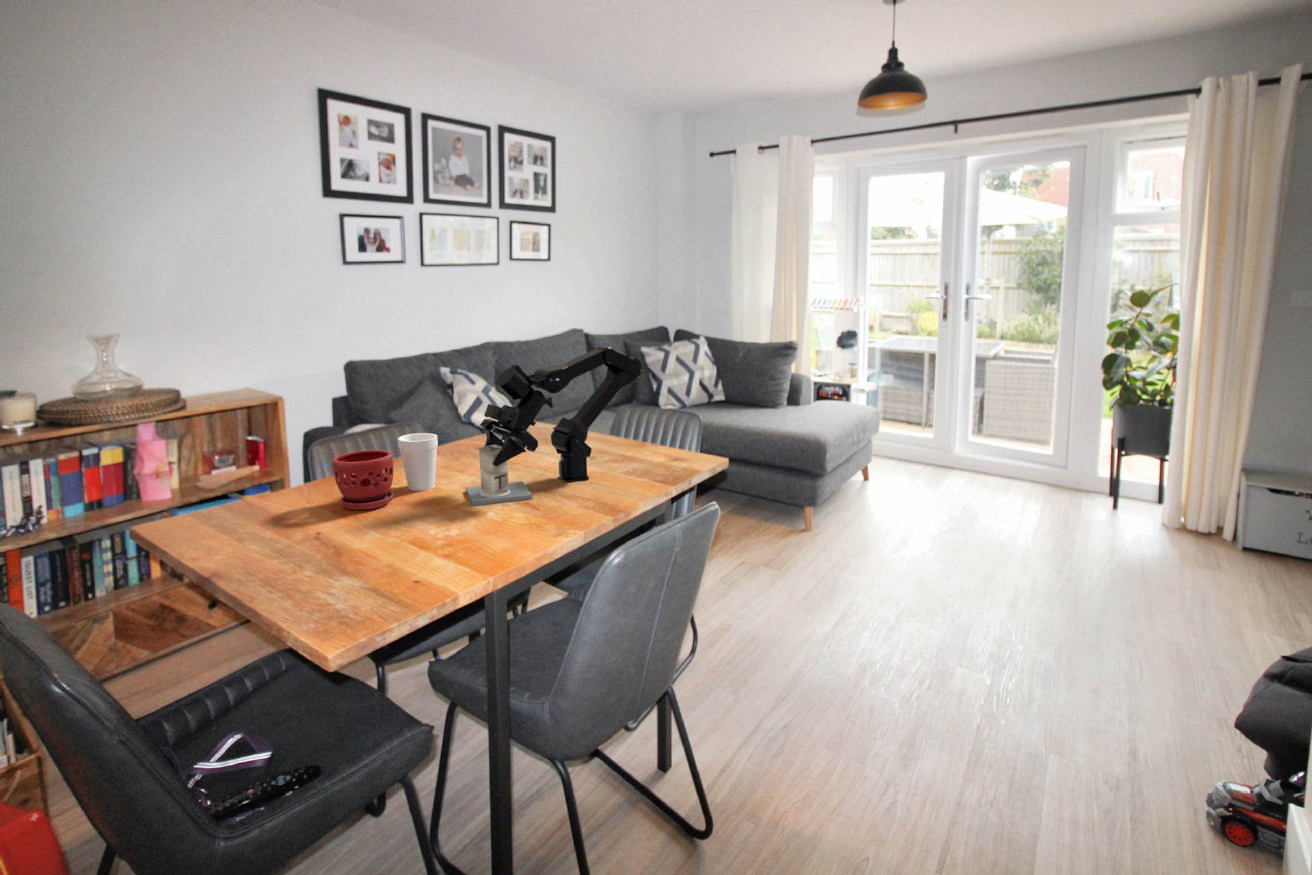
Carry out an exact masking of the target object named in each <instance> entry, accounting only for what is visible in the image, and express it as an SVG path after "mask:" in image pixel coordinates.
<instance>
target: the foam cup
mask: <svg viewBox="0 0 1312 875" xmlns="http://www.w3.org/2000/svg"><path fill="white" fill-rule="evenodd" d="M397 444H398V449H399V451H400V452H399V453H400V456H401V461H402V465H403V470H404V474H405V480H406V483H407V487H408V489H409V490H410V491H415V492H421V491H428V490H432V489H433V488H435V486H436V485H435V484H436V471H437V470H436V467H437V454H438V453H437V452H438V451H437V450H438V446H439V443H438V434H435V433H430V432H429V433H428V432H419V433H418V432H417V433H410V434H409V433H408V434H403V435H401V436H399V437H398V438H397Z"/></svg>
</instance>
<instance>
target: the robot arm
mask: <svg viewBox="0 0 1312 875" xmlns="http://www.w3.org/2000/svg"><path fill="white" fill-rule="evenodd" d="M601 366H604V367H606V368H607V370H606V374H605V375H606V376H605V378H604V380H603V381H602V382H601V384H600V385H599V386H598V387H597V389H595V391H594V392H593V393H592V394H591V395H590V397H589V398H588V399H587V400H586V402H585V403H584V404H583V405H582V406H581V407H580V409H579V410H578V411H577V412H576V414H575V415H574V416H573V417H572V418H567V417H562V418H561V419H560V420H559V422H558V423H557V425H556V426H554V427H553V428H552V430H553V431H552V433H551V434H550V441H551V445H552V447H554V449H555V451H556V453H557V454H558V455H560V460H559V461H558V475H559V477H560V478H561V479H562V481H564V482H567V483H569V482H576V481H577V482H578V481H586V480H589V479H590V476H589V475H588V461H587V460H588V458H590V457H591V455H592V454H591V453H592V447H590V445H588V444H587V442H586V440H587V438H588V434H589V428H590V427H591V426H592V424H593V423H594V422H595V421H596V419H598V417H599V416H600V415H601V413H603V411H604V410H605V408H606V407H607V406H608V405H609V404H610V403H611V401H612V400H613V399H614V398H615V396H617V394H618V392H620V390H621V389H624V388H625V387H627V386H629V385H631V384H632V383H634V382H635V381H636V380H637V379H638V378H639V377H641V374H642V372H643V371H642V364H641V361H640V360H639V359H638V358H636V357H630V356H627V355H625V354H623V353H620V352H618V351H616V350H615V349H613V348H612V347H610V346H609V347H607V346H602V345H601V346H598V347H596V348H594V349H592V350H591V351H589V352H586V353H584V354H582V355H579V356H578V357H576V358H573V359H571V360H569V361H567V362H565V363H562V364H557V365H549V366H543V367H540V368H538V369H536V370H535V371H534V373H532V374H526V373H525V372H524V371H523V369H522V368H521V366H519V365H518V364H512V365H511V366H510V367H508V368H506V369H505V370H503V371H502V372H500V373H499V374H498V375H497V378H496V381H495V384H496V386H497V387H498V388H499V389H500V390H501V391H502V392H504V393H505V395H507V396H508V397H509V398H510V399H511V400H513V401H516V400H518V401H517V402H516V404H515V406H511V405H507V404H503V405H502V406H501V407H500V406H497V405H495V404H489V403H487V406H486V409H485V412H484V415H483V416H484V417H486V418H485V419H483V420H482V421H481V423H480V424H479V427H480V428H482V430H484V432H485V436H486V439H485V440H486V441H485V444H484V447H486V446H491V445H495V444H496V445H498V446H501V447H502V449H501V450H500V452H499V454H498V455H497V457H496V459H495V461H494V462H493V465H494V466H496V467H497V466H499V465H500V464H502V463H504V462H506V461H507V462H508V461H509V460H511V459H513V458H515V457H517V456H519V455H521V454H523V453H526V452H527V451H529V452H532V453H535V451H536V450H537V448H538V447H539V440H538V439H537V438H536V437H534V435H532V434H531V433H530V432H529V431H528V429H529V428H530V427H534V426H536V424H537V423H536V421H535V420H536V418H537V416H538V415H539V414H540V412H541V411H542V409H543V408H544V407H545V408H549V409H553V408H554V404H553V401H552V400H553V397H552V396H548V395H547V396H546V395H545V394H544V393H543V392H545V393H550V394H557V393H559V392H561V391H562V390H564V389H565V388H566V387H567V386H569V384H570V383H571V381H573V380H574V379H575V378H578V377H580V376H582V375H584V374H586V373H588V372H590V371H592V370H595V369H597V368H599V367H601ZM534 388H535V389H534Z"/></svg>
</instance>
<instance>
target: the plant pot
mask: <svg viewBox="0 0 1312 875" xmlns="http://www.w3.org/2000/svg"><path fill="white" fill-rule="evenodd" d="M393 460H394V459H393V454H392V452H390V451H388V450H382V449H381V450H379V449H374V450H373V449H372V450H370V449H368V450H367V449H366V450H359V451H353V452H347V453H343V454H339V455H337V456H335V457H334V458H332V461H331V462H332V470H333V474H334V479H335V480H334V481H335V484H336V486H337V489H338V491H339V492H340V494H341V496H342V497H341V499H340V503H341V505H342V506H343V507H345V508H348V509H351V510H357V511H358V510H370V509H376V508H381V507H383V506H385V505H387V504H388V503H390V502H391V501H392V500H393V498H394V493H393V492H392V491H390V490H391V488H392V484H393V480H394V461H393Z"/></svg>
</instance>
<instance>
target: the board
mask: <svg viewBox="0 0 1312 875" xmlns="http://www.w3.org/2000/svg"><path fill="white" fill-rule="evenodd" d="M508 491H509V492H506V493H502V494H499V495H495V496H491V495H488V494H486V493H484V492H482V490H481V485H476V486H468V487H465V492H466V494H467V496H468V498H469V500H470V503H471V504H472V506H473V507H474V506H481V505H482V506H483V505H491V504H499V503H506V502H514V501H515V502H517V501H524V500H532V499H533V493H532V492H531V491H530V489H529V488H528V486H526V485H525V483H524V481H521V480H520V481H512V482H508Z"/></svg>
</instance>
